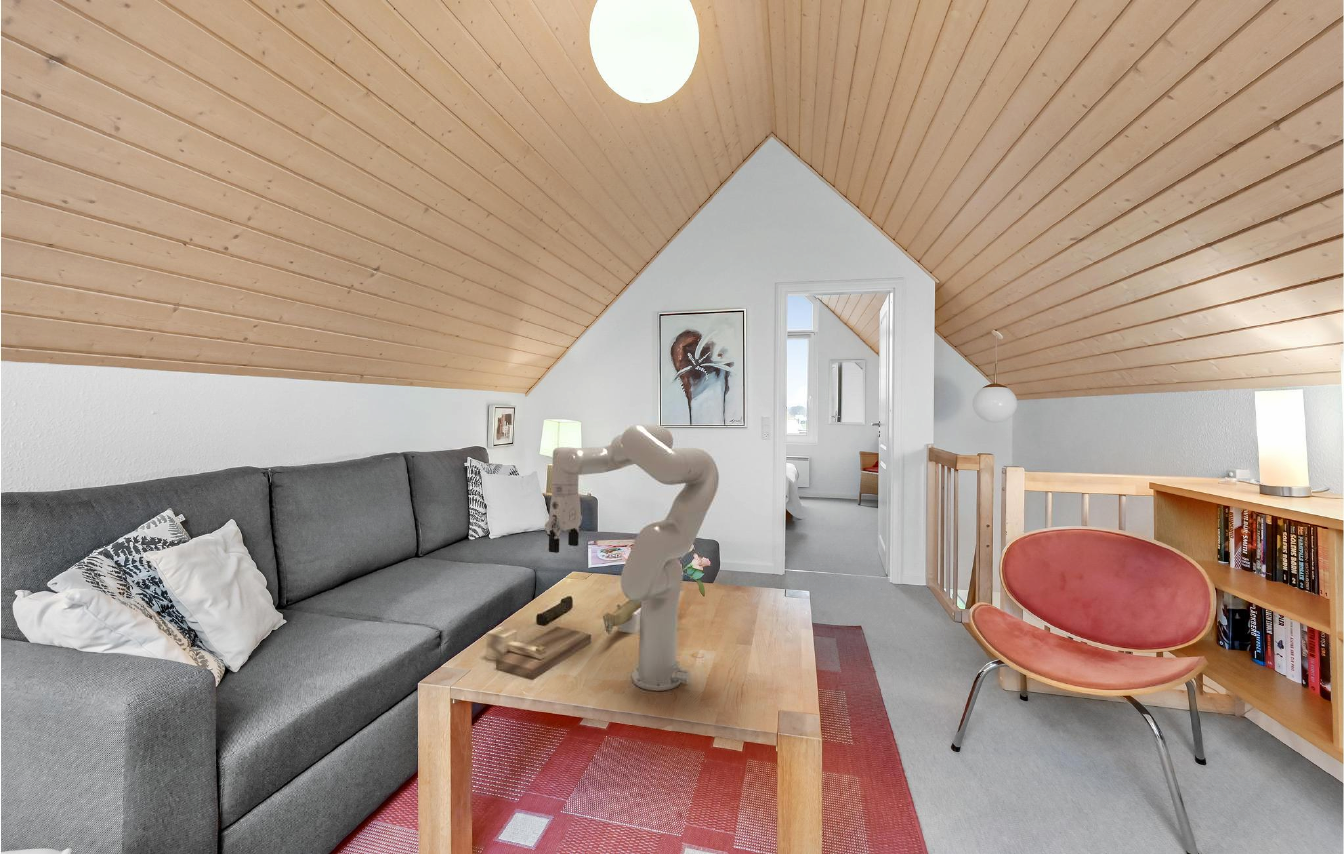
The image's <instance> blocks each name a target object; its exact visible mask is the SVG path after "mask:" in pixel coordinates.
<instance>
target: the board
mask: <svg viewBox="0 0 1344 854" xmlns="http://www.w3.org/2000/svg"><path fill="white" fill-rule="evenodd" d="M591 643H592V634H591V633H587V632H582V631H579V630H574V629H570V628H565V627H561V626H556V627H554V628H552V629H550V630H548V631H546V632H545V633H542V634H541V635H539V636H537V637H536V638H534V639H531V640H530V641H528V642H526V643H525V644H526V645H530V646H534V647H539V646H543V647H545V649H546V656H545V657H544V658H542V659H538V658H535V657H531V656H527V655H523V654H519V653H516V652H512V651H511V652H509V653H507V654H505V655H504V656H502V657H500V658H498V659H496V661H495V662H496V663H495V669H496V670H499V671H503V672H505V673H509V674H513V675H516V676H519V677H523V678H526V679H530V680H535V679H537V678H538V677H540V676H541V675H543V674H544V673H546V672H547V671H549V670H550V669H552V668H554V667H555V666H557V665H559V664H560V663H561V662H563V661H565V660H566V659H568V658H570V657H571V656H572V655H574V654H576V653H578V652H579V651H580V650H582V649H583V648H585V647H586V646H588V645H589V644H591Z"/></svg>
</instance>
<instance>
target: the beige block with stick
mask: <svg viewBox="0 0 1344 854" xmlns="http://www.w3.org/2000/svg"><path fill="white" fill-rule="evenodd" d="M517 638H518V630H515V629H511V628H507V627H503V626H498V627H495V628H494V629H492V630H489V631H488V632H486V646H485V647H486V651H485V652H486V654H485V655H486V656H485V658H486V659H487V660H491V661H494V662H496V659H498V658H500V657H502V656H504V655H505V654H507V653H509V652H511V651H512V652H516V653H519V654H523V655H527V656H531V657H535V658H538V659H542V658H544V657H545V656H546V649H545V647H543V646H539V647H534V646H530V645H526V643H522V642H520V641H518V639H517Z"/></svg>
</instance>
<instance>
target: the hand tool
mask: <svg viewBox="0 0 1344 854" xmlns="http://www.w3.org/2000/svg"><path fill="white" fill-rule="evenodd" d="M573 600H574V599H573V597H572V596H571V595H569V596H566V597H564V598H561V599H560V602H559V603H557V604H556V605H554V606H552V607H550V608H548V609H546V610H545V611H542V612H541V613H537V614H536V617H535V618H536V620H535V622H536V624H537V625H539V626H546V625H548V624H549V623H550V621H552V620H554V619H556V618H558V617H559V616H561V615H562V614H564V613H566V614H567V613H568V612H570V611H571V610H572V608H573V606H574V603H573V602H574V601H573Z"/></svg>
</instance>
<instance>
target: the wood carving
mask: <svg viewBox="0 0 1344 854" xmlns="http://www.w3.org/2000/svg"><path fill="white" fill-rule="evenodd" d="M641 604H642V601H641V602H635V601H632V600H630V599H628V600H627V601H625V602H624V603H623V604H622V605H620V604H617V605H616V607H617V608H616V609H615V610H614V611H613V612H612V613H610V612H605V613H604V614H603V616H602V618H603V623H604V630H605V631H606V632H607V634H608V635H611V633H612V631H613V628H614V627H617V632H623V633H628V634H634V635H636V634H637V633H639V632H640V612H641Z"/></svg>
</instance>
